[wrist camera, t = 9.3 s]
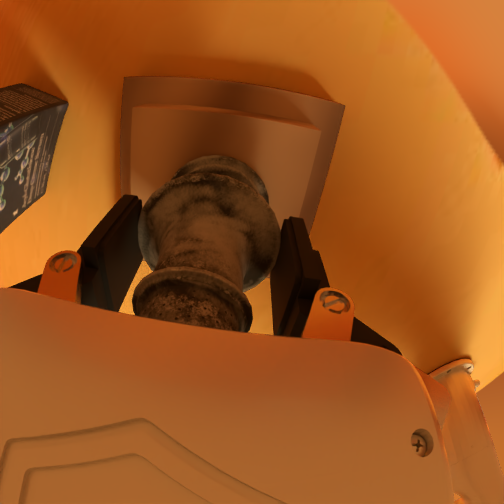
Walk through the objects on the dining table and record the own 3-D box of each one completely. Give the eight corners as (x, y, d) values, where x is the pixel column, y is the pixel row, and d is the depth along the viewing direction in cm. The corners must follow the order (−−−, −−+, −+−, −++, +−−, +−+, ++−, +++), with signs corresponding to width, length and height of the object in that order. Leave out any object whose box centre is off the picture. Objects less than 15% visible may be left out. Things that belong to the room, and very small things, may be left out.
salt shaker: (156, 149, 12) (-24, 368, 3) (280, 152, 13) (359, 433, 3) (165, 251, 16) (95, 466, 6) (269, 256, 16) (284, 491, 6)
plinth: (335, 102, 15) (357, 110, 12) (291, 262, 22) (298, 299, 18) (137, 76, 14) (107, 79, 10) (134, 241, 20) (116, 274, 17)
